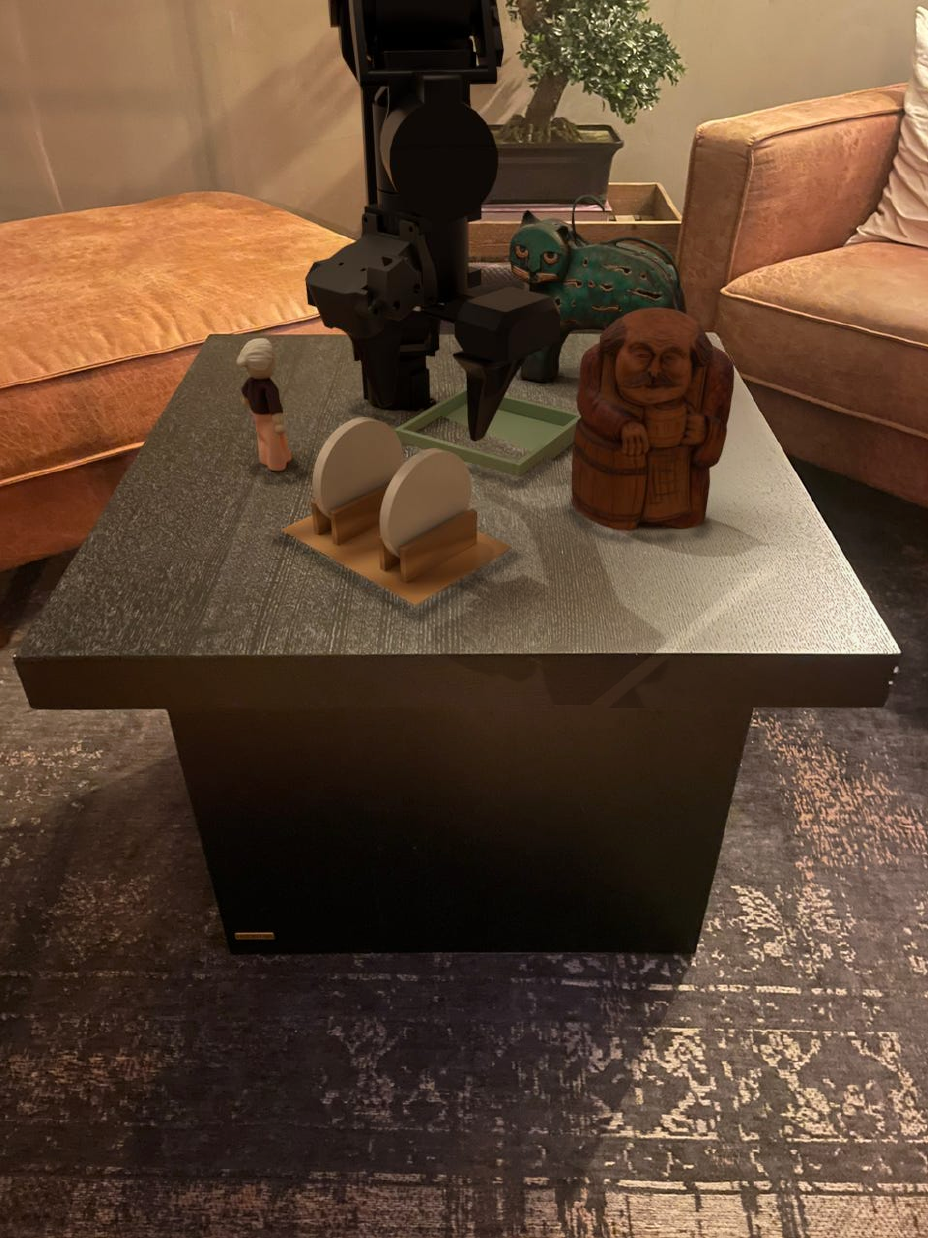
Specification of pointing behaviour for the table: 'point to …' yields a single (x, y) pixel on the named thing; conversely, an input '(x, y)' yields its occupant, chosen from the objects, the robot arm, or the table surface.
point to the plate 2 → (423, 497)
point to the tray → (500, 431)
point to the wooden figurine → (650, 422)
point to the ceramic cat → (588, 280)
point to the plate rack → (421, 560)
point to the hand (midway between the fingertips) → (429, 421)
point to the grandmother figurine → (265, 403)
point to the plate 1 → (355, 462)
